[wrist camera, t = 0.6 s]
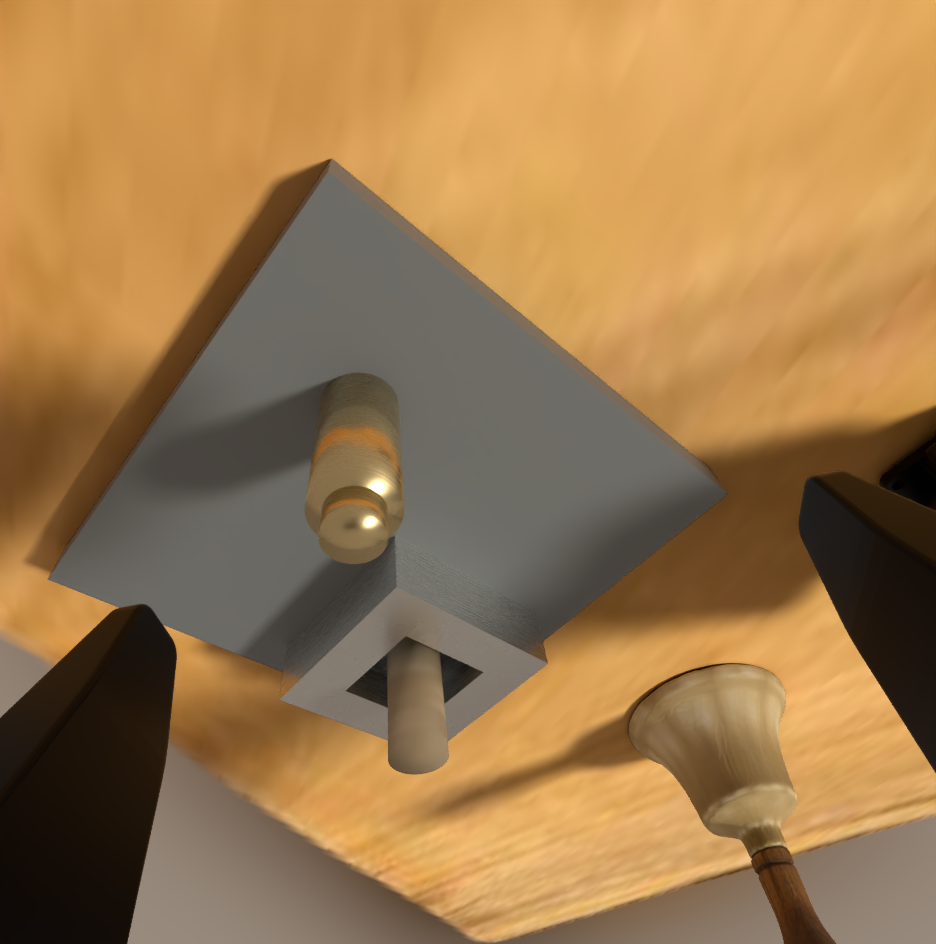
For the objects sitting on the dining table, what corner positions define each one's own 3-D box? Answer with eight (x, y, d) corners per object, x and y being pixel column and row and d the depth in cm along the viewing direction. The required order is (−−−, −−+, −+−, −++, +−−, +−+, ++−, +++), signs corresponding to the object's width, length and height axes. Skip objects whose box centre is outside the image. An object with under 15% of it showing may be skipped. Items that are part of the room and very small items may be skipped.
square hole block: (535, 612, 27) (548, 663, 25) (425, 703, 29) (429, 755, 27) (395, 535, 24) (396, 587, 22) (286, 645, 26) (279, 699, 24)
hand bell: (806, 711, 36) (1041, 1112, 23) (671, 774, 38) (816, 1169, 26) (746, 638, 32) (995, 1082, 19) (598, 714, 34) (730, 1153, 21)
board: (711, 469, 25) (727, 493, 24) (428, 702, 32) (430, 730, 31) (331, 158, 18) (328, 171, 16) (64, 549, 24) (47, 579, 23)
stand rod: (447, 623, 27) (461, 751, 22) (416, 651, 27) (423, 780, 23) (407, 604, 26) (413, 733, 21) (376, 633, 26) (375, 763, 22)
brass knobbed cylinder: (415, 401, 20) (426, 529, 16) (368, 453, 21) (365, 589, 17) (350, 357, 19) (340, 481, 15) (304, 414, 20) (280, 547, 15)
